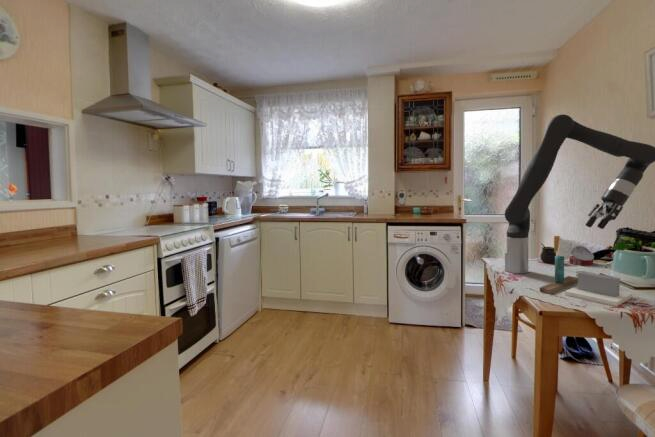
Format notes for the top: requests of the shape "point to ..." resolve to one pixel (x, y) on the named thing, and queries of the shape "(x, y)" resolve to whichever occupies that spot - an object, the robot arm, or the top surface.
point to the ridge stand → (599, 289)
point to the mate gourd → (548, 254)
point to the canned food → (581, 256)
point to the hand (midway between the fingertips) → (593, 227)
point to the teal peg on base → (558, 278)
